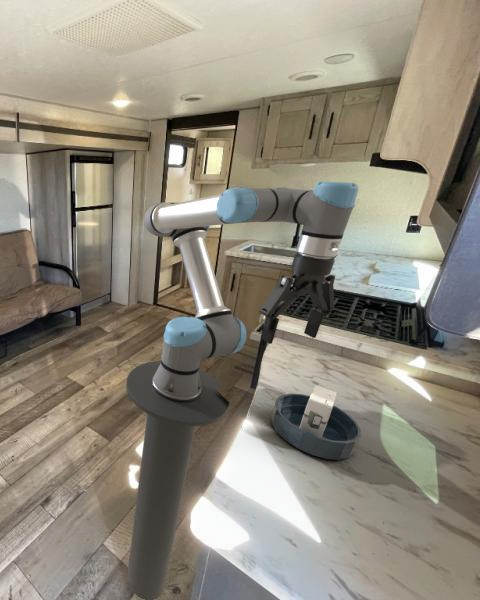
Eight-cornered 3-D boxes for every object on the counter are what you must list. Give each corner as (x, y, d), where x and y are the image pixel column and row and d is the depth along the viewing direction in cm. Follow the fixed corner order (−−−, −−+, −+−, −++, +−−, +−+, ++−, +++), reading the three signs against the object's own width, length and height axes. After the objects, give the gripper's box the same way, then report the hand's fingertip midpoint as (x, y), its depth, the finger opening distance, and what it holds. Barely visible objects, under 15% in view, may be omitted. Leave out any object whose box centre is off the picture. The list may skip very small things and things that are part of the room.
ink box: (302, 418, 89) (314, 383, 85) (324, 427, 86) (337, 391, 82) (296, 435, 84) (308, 398, 79) (319, 445, 80) (333, 407, 76)
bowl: (255, 415, 91) (260, 398, 89) (307, 406, 96) (312, 390, 93) (311, 468, 75) (319, 448, 73) (371, 455, 79) (380, 436, 77)
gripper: (284, 261, 65) (259, 351, 73) (373, 257, 72) (340, 340, 80) (256, 252, 72) (236, 335, 80) (340, 249, 79) (313, 326, 87)
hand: (288, 338), depth 80 cm, fingers open, 13 cm apart
